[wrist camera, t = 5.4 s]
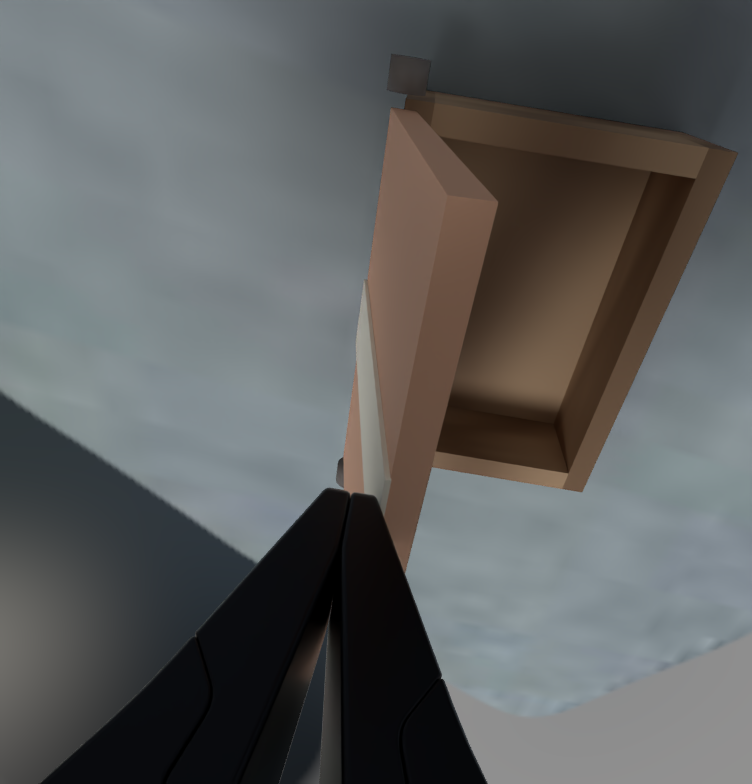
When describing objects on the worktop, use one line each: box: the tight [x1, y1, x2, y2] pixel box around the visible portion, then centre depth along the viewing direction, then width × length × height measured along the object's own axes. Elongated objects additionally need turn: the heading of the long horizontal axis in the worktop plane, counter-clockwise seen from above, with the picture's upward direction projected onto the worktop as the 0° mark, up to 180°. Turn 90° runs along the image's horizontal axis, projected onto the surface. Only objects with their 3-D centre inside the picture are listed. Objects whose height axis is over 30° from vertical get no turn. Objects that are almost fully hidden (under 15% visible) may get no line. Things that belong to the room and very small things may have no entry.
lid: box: [343, 107, 498, 573], centre depth 13 cm, size 8×11×1 cm
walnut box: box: [336, 54, 738, 492], centre depth 17 cm, size 8×13×4 cm
